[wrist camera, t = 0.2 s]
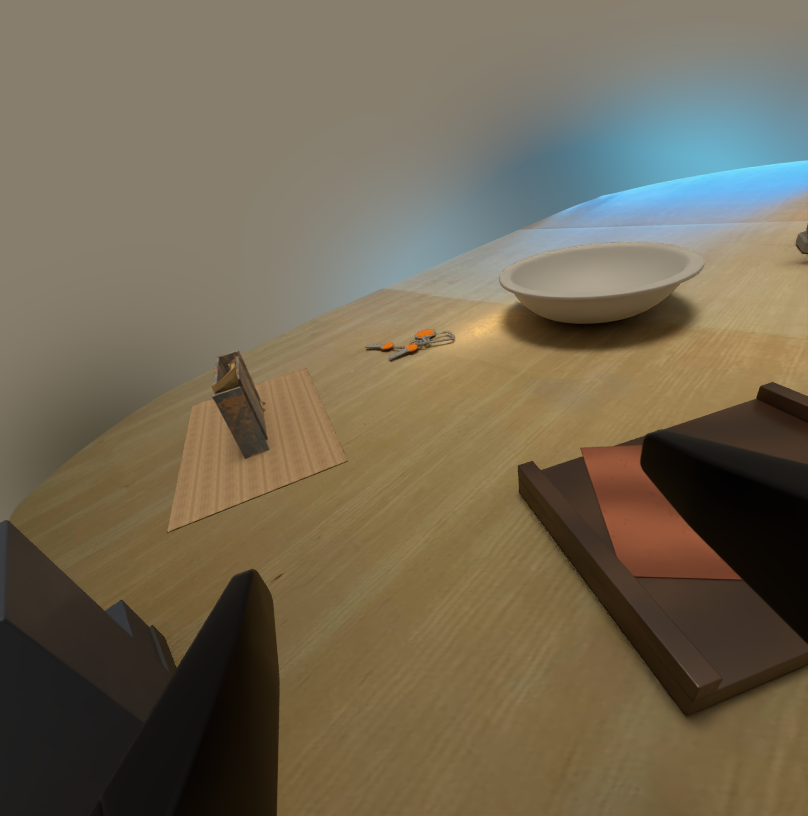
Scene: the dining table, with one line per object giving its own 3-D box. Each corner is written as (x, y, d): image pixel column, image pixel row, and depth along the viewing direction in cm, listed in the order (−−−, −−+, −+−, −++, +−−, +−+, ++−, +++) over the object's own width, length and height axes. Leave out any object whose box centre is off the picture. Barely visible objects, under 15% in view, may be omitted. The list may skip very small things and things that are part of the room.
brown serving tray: (1066, 553, 20) (1107, 517, 18) (686, 717, 17) (698, 689, 16) (753, 405, 33) (762, 377, 31) (513, 485, 30) (512, 458, 29)
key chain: (444, 326, 61) (443, 321, 60) (459, 342, 54) (458, 337, 54) (365, 346, 60) (363, 341, 59) (370, 365, 54) (369, 360, 53)
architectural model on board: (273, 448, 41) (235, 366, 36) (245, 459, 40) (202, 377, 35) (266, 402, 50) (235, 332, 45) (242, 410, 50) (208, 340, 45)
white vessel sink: (693, 357, 41) (706, 295, 37) (477, 345, 53) (472, 297, 50) (694, 283, 57) (703, 235, 53) (528, 287, 69) (527, 248, 66)
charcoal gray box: (219, 780, 18) (4, 617, 11) (85, 916, 15) (-327, 822, 8) (164, 636, 25) (8, 477, 18) (64, 713, 22) (-172, 561, 15)
